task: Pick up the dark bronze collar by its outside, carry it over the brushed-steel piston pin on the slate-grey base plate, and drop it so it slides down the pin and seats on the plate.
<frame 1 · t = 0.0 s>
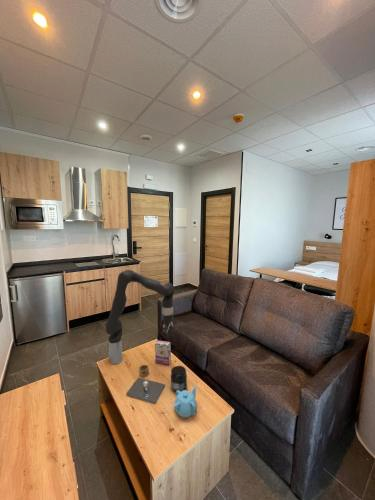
hand: (168, 334, 145), 29 cm above the table, fingers open, 8 cm apart
collar: (144, 373, 149), on the table
candy bar box: (163, 362, 161), on the table
teapot: (186, 410, 120), on the table
grey metal plate: (146, 390, 134), on the table
supplement container: (178, 387, 136), on the table
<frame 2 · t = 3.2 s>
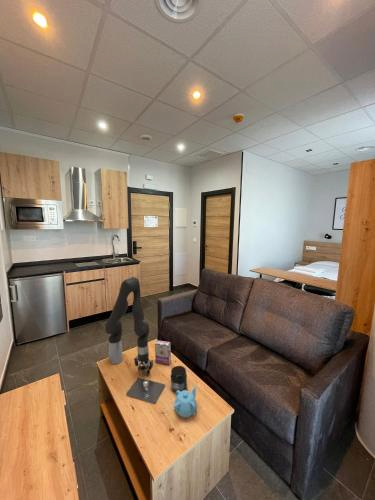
hand: (144, 372, 149), 1 cm above the table, fingers closed on collar, 6 cm apart
collar: (144, 373, 149), on the table, touching gripper
everything else where it was.
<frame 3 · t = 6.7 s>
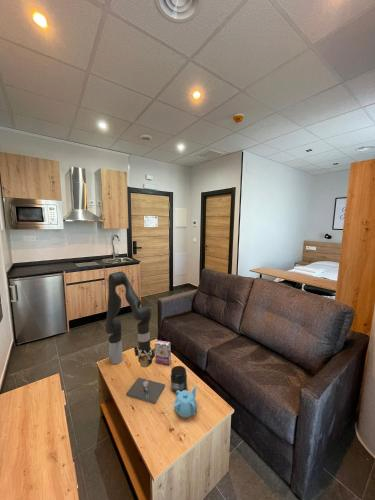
hand: (145, 362, 133), 18 cm above the table, fingers closed on collar, 6 cm apart
collar: (145, 364, 133), point 17 cm above the table, touching gripper
everything else where it was.
when the fingers open (4 cm above the table, at t = 10.3 s): collar drops 2 cm, resting on grey metal plate.
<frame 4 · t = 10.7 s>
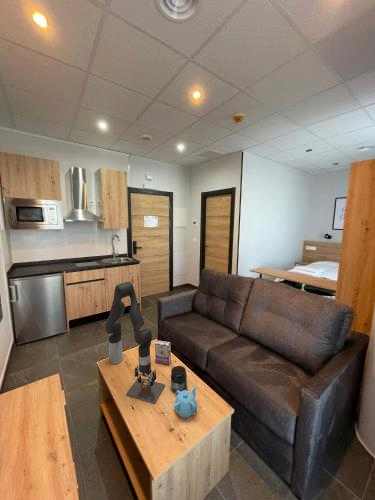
hand: (145, 384, 133), 5 cm above the table, fingers open, 8 cm apart
collar: (146, 388, 134), point 1 cm above the table, touching grey metal plate
everything else where it was.
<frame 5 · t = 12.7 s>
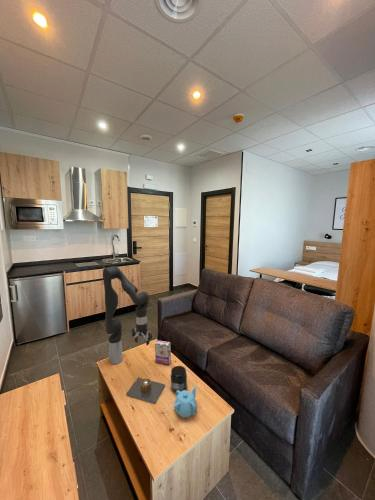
hand: (142, 343, 143), 24 cm above the table, fingers open, 8 cm apart
nothing on the table moved.
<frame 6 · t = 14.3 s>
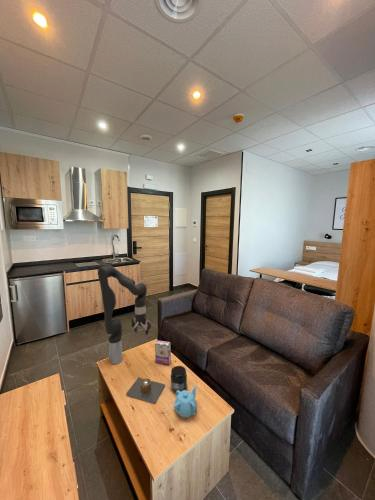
hand: (141, 333, 150), 28 cm above the table, fingers open, 8 cm apart
nothing on the table moved.
at the end: collar 0.1 cm off-centre on the grey metal plate, point 1.5 cm above the grey metal plate's base; collar tilted 0°; the gripper is holding nothing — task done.
